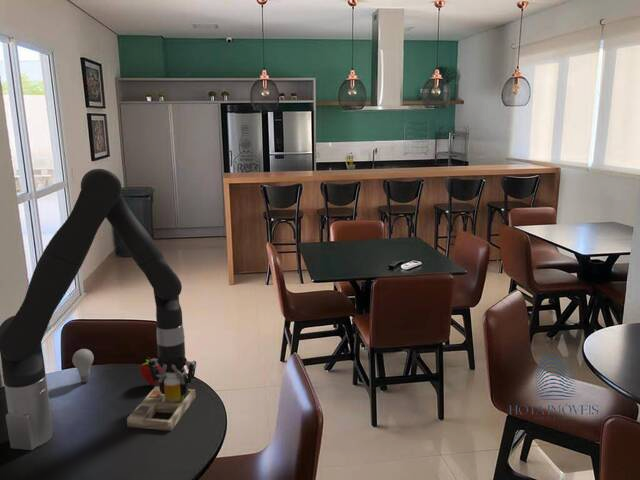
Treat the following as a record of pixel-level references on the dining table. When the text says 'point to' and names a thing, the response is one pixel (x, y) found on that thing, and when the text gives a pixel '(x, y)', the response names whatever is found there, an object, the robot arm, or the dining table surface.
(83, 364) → the lightbulb
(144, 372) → the strawberry
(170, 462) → the dining table surface
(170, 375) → the supplement bottle
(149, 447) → the dining table surface
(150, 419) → the socket plate
